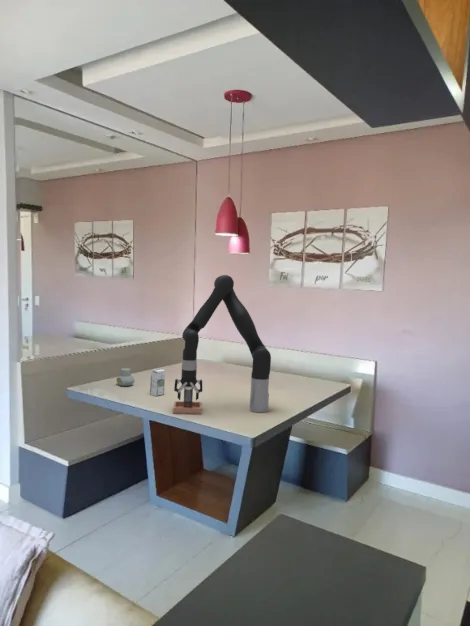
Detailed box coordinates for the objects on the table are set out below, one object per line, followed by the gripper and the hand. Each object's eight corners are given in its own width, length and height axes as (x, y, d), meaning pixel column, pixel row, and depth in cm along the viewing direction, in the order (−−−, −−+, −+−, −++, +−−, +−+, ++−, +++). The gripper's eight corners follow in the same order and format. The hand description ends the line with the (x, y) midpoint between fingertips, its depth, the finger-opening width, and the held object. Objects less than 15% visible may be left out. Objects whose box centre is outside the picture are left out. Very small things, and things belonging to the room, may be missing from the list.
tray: (201, 407, 245) (201, 401, 245) (201, 414, 233) (201, 408, 233) (174, 406, 244) (174, 401, 243) (173, 413, 232) (173, 407, 232)
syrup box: (157, 392, 270) (158, 368, 269) (164, 394, 266) (165, 369, 265) (149, 394, 265) (150, 369, 264) (156, 396, 262) (157, 371, 260)
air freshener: (114, 384, 285) (115, 368, 284) (127, 382, 291) (127, 366, 290) (123, 388, 277) (123, 371, 276) (135, 386, 283) (136, 370, 282)
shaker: (192, 407, 241) (193, 385, 240) (192, 410, 236) (193, 387, 235) (183, 407, 240) (184, 384, 239) (183, 410, 236) (183, 386, 235)
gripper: (203, 367, 241) (202, 398, 242) (175, 366, 240) (174, 397, 241) (203, 370, 233) (202, 402, 235) (174, 369, 232) (173, 401, 234)
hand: (188, 399), depth 238 cm, fingers open, 8 cm apart
